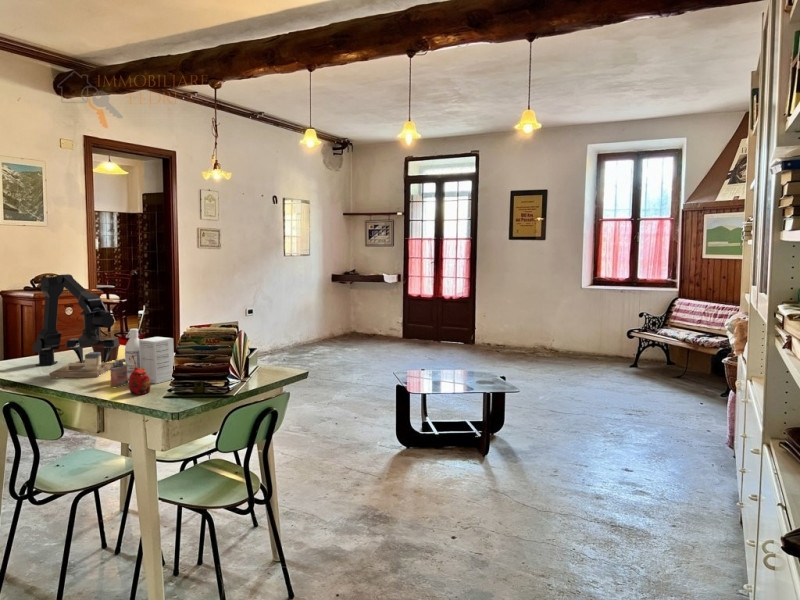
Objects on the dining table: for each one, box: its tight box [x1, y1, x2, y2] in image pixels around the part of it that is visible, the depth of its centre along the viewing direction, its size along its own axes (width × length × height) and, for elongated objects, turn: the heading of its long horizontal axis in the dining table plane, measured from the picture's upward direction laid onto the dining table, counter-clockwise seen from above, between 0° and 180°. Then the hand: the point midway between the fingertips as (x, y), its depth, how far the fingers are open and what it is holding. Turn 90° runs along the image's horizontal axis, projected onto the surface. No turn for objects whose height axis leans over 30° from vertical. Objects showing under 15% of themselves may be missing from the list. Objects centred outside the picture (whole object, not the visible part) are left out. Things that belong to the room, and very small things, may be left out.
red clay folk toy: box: [128, 353, 152, 396], centre depth 199 cm, size 8×7×15 cm
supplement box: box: [139, 336, 175, 384], centre depth 218 cm, size 10×9×17 cm
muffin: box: [91, 337, 121, 362], centre depth 254 cm, size 12×11×10 cm
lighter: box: [109, 358, 129, 388], centre depth 210 cm, size 8×3×10 cm, turn 168°
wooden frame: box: [48, 361, 114, 379], centre depth 229 cm, size 19×18×2 cm
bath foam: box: [124, 328, 141, 380], centre depth 221 cm, size 7×7×20 cm
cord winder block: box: [84, 351, 102, 370], centre depth 230 cm, size 6×4×8 cm, turn 9°
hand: (93, 362), depth 230 cm, fingers open, 9 cm apart
